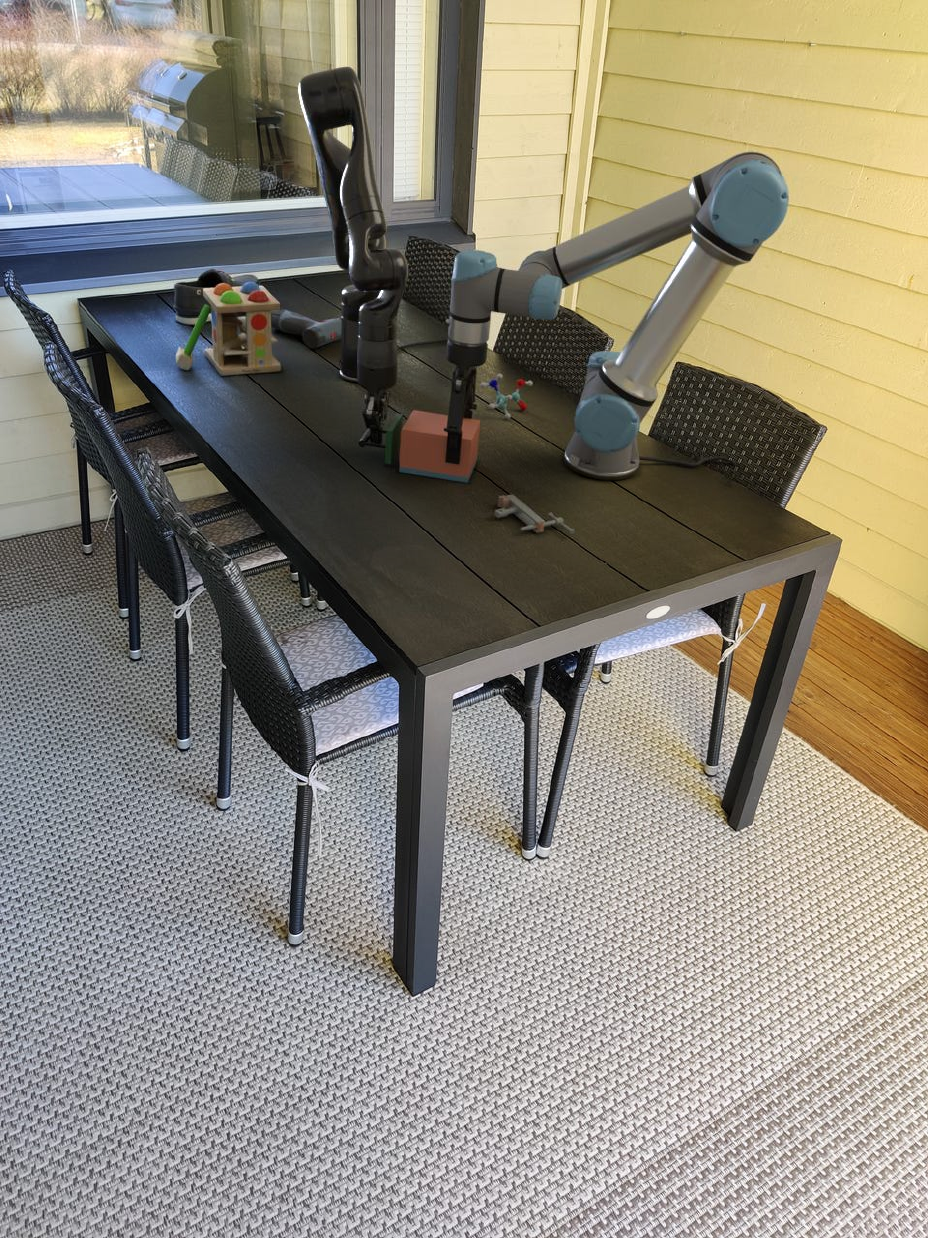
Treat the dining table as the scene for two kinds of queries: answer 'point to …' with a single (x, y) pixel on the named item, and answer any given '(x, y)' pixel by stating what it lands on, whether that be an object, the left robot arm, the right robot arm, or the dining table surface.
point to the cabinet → (437, 447)
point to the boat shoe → (191, 293)
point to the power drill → (307, 327)
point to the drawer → (387, 439)
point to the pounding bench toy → (229, 347)
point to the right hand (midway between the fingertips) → (457, 451)
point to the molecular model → (501, 397)
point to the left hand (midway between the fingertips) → (376, 444)
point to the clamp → (526, 514)
